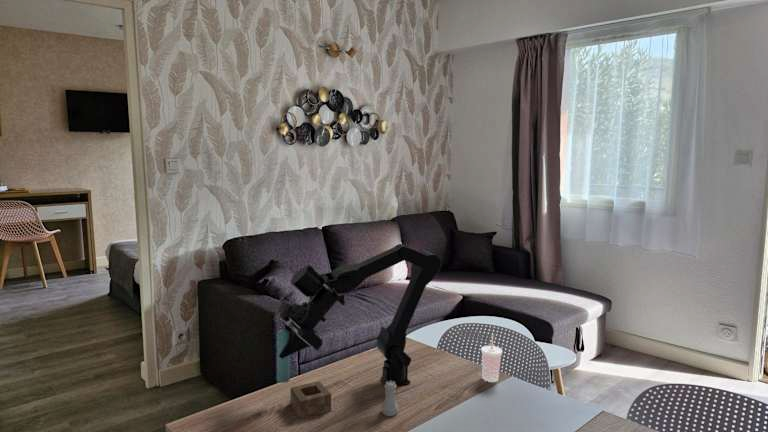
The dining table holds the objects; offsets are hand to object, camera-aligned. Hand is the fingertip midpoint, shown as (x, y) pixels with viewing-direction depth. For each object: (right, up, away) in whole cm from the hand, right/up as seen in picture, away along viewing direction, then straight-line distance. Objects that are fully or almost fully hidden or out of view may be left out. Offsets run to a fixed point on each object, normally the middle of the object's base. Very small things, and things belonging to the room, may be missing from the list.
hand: (278, 354), depth 130 cm
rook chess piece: (+29, -15, -1) cm, 32 cm away
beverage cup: (+59, -12, +19) cm, 63 cm away
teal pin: (+1, -7, +2) cm, 7 cm away
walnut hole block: (+8, -14, 0) cm, 16 cm away
